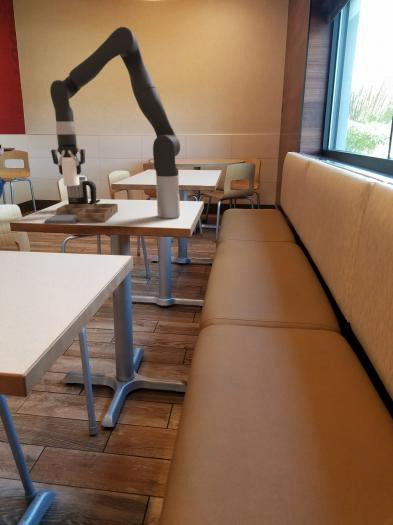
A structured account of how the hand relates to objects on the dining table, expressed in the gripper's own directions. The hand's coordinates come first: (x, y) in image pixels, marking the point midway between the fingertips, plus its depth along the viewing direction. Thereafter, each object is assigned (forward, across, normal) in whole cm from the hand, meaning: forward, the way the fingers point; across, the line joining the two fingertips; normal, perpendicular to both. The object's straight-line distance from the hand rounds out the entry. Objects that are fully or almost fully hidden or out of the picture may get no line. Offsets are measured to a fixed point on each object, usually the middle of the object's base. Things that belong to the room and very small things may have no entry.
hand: (70, 174), depth 173 cm
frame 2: (+17, -12, +10) cm, 23 cm away
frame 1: (+17, 0, 0) cm, 17 cm away
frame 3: (+17, -12, -2) cm, 21 cm away
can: (+5, 0, 0) cm, 5 cm away
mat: (+17, 0, +12) cm, 21 cm away
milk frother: (+18, 0, -16) cm, 23 cm away
